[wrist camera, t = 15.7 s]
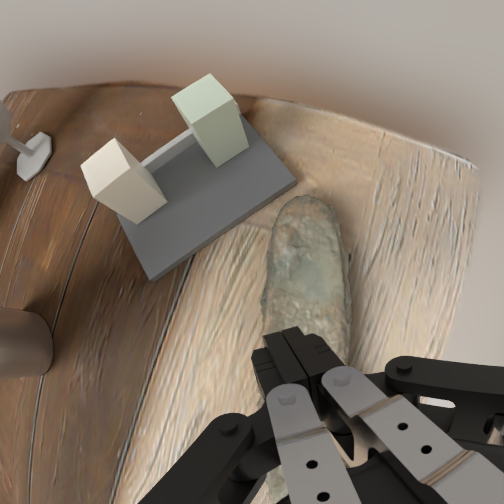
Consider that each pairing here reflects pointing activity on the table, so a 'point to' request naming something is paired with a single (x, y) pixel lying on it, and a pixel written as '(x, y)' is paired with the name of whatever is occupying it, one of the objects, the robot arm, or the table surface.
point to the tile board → (202, 198)
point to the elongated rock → (307, 287)
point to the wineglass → (25, 147)
